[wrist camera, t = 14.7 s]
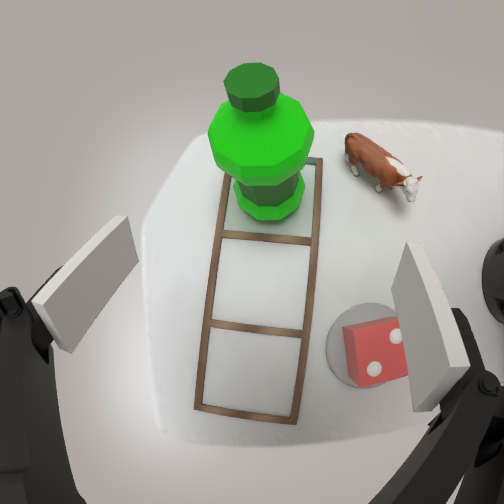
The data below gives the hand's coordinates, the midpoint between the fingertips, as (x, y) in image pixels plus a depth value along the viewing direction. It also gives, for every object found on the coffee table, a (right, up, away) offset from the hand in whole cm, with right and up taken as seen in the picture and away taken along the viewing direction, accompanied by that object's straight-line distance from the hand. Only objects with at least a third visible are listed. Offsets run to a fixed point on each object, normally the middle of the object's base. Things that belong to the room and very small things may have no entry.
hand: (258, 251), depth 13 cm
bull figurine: (+19, +11, +30) cm, 37 cm away
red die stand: (+16, -13, +25) cm, 32 cm away
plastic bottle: (+3, +8, +31) cm, 32 cm away
